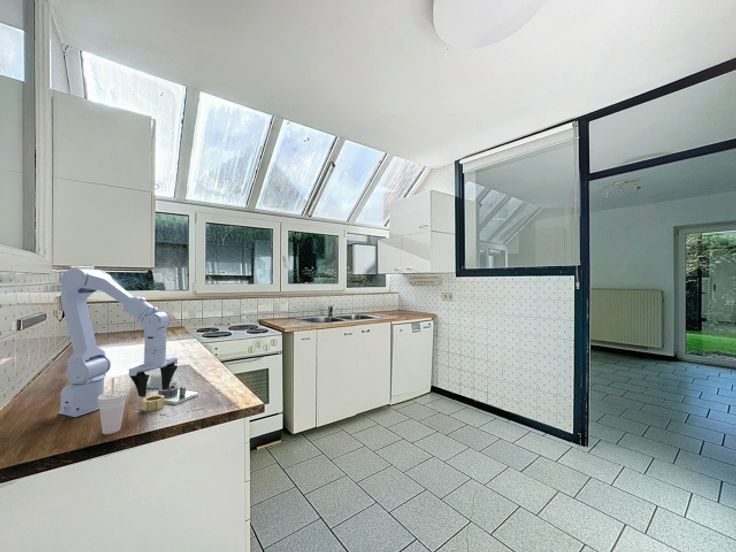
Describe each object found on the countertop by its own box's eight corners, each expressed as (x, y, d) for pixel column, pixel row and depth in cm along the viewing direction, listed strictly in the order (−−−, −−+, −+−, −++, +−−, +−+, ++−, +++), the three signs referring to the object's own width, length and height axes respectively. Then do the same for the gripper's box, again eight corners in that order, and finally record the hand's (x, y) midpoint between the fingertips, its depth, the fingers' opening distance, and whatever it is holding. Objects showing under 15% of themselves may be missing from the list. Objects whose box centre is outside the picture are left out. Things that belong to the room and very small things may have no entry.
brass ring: (151, 412, 93) (151, 402, 93) (138, 410, 95) (138, 400, 95) (168, 405, 99) (168, 396, 99) (155, 403, 100) (155, 394, 101)
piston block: (175, 405, 99) (175, 392, 99) (149, 400, 103) (150, 388, 103) (198, 395, 108) (198, 384, 108) (174, 391, 111) (174, 380, 112)
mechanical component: (164, 390, 113) (182, 381, 123) (164, 378, 113) (183, 370, 123) (139, 388, 114) (160, 380, 124) (139, 376, 114) (160, 369, 124)
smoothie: (123, 423, 86) (125, 373, 87) (129, 430, 82) (131, 378, 83) (93, 431, 81) (95, 379, 82) (98, 439, 77) (100, 384, 78)
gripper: (141, 355, 89) (140, 402, 89) (184, 345, 103) (183, 386, 103) (124, 353, 91) (123, 398, 91) (169, 344, 105) (168, 383, 105)
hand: (154, 392), depth 97 cm, fingers open, 7 cm apart
